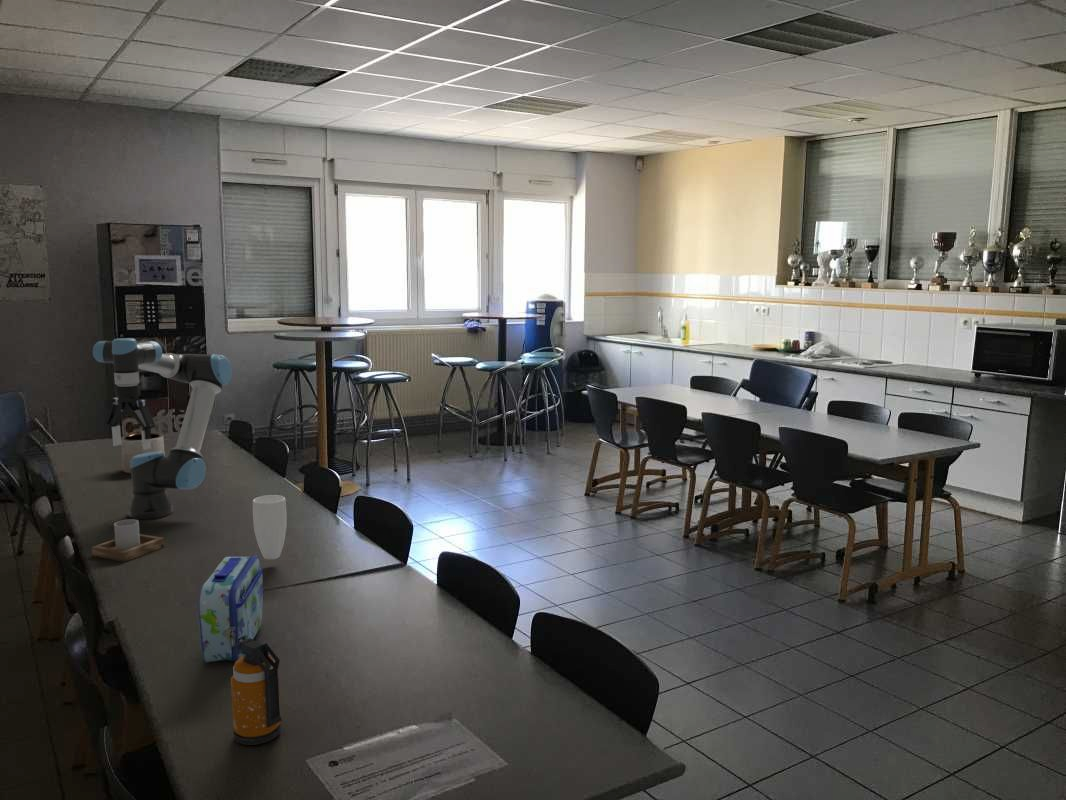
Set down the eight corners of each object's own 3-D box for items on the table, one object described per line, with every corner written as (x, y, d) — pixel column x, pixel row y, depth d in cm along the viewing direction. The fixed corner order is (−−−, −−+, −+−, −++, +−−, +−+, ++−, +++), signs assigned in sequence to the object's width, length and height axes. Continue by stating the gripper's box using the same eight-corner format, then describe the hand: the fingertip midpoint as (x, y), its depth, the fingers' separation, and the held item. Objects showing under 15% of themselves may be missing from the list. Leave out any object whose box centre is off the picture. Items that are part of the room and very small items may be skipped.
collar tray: (133, 541, 288) (132, 532, 287) (164, 546, 282) (163, 537, 282) (92, 555, 273) (91, 546, 273) (124, 562, 268) (123, 552, 267)
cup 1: (115, 554, 272) (113, 527, 271) (116, 544, 281) (114, 518, 279) (140, 550, 275) (138, 524, 274) (140, 541, 284) (138, 516, 283)
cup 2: (296, 562, 268) (293, 496, 264) (276, 573, 258) (272, 505, 255) (268, 558, 271) (265, 493, 268) (247, 569, 262) (244, 501, 258)
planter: (155, 475, 377) (152, 440, 374) (115, 474, 377) (112, 440, 375) (172, 465, 394) (170, 432, 392) (134, 465, 395) (132, 432, 392)
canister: (262, 718, 176) (257, 628, 173) (297, 735, 170) (293, 641, 167) (224, 738, 169) (219, 643, 166) (260, 756, 163) (255, 659, 160)
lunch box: (244, 669, 198) (239, 584, 194) (196, 671, 197) (191, 585, 193) (269, 622, 223) (265, 546, 220) (227, 624, 222) (222, 547, 219)
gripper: (90, 384, 285) (95, 445, 288) (145, 388, 275) (150, 452, 279) (109, 381, 292) (114, 441, 295) (164, 385, 282) (168, 447, 286)
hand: (131, 446), depth 287 cm, fingers open, 13 cm apart
